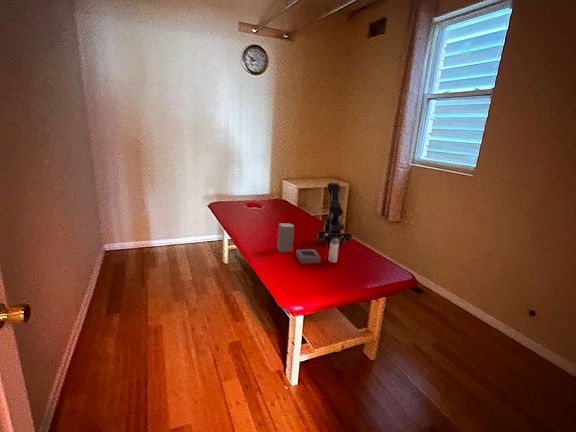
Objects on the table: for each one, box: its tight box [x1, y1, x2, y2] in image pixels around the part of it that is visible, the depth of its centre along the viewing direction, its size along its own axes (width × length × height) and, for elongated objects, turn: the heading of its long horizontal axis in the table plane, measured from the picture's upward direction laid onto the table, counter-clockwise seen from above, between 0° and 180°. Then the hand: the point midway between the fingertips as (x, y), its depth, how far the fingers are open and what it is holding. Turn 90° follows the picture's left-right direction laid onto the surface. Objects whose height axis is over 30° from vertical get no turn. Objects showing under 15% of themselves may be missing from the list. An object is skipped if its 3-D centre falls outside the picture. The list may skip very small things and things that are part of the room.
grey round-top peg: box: [327, 237, 340, 263], centre depth 175 cm, size 5×5×13 cm
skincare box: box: [276, 222, 295, 253], centre depth 185 cm, size 8×7×16 cm
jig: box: [295, 248, 322, 264], centre depth 177 cm, size 11×11×3 cm
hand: (334, 250), depth 174 cm, fingers open, 6 cm apart
